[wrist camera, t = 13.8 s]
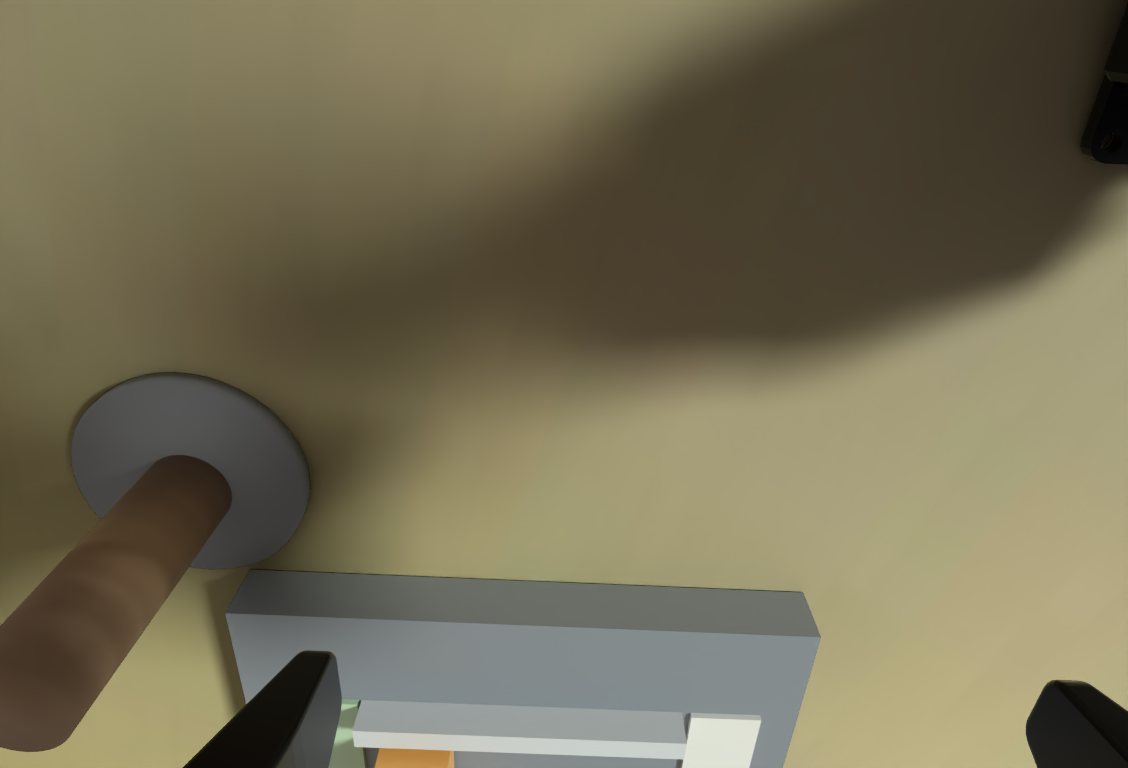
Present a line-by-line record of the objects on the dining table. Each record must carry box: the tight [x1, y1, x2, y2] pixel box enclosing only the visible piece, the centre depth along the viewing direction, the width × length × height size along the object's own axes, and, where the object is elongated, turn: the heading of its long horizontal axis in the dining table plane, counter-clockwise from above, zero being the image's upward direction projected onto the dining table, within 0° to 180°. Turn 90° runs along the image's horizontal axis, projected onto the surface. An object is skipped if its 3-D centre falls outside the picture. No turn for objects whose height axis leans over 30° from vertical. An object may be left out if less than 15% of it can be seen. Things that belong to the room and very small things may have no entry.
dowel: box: [0, 455, 232, 752], centre depth 19 cm, size 3×3×8 cm
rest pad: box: [71, 372, 310, 569], centre depth 23 cm, size 7×7×1 cm
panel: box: [225, 570, 821, 768], centre depth 26 cm, size 19×13×3 cm
